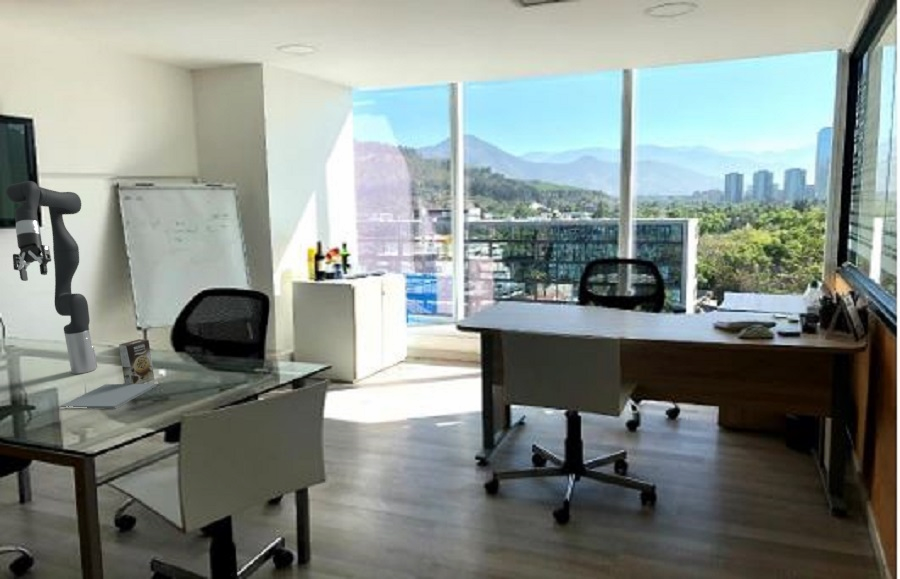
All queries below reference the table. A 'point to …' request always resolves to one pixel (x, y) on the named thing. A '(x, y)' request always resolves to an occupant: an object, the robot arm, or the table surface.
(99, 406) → the mat
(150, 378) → the coffee box
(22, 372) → the table surface
